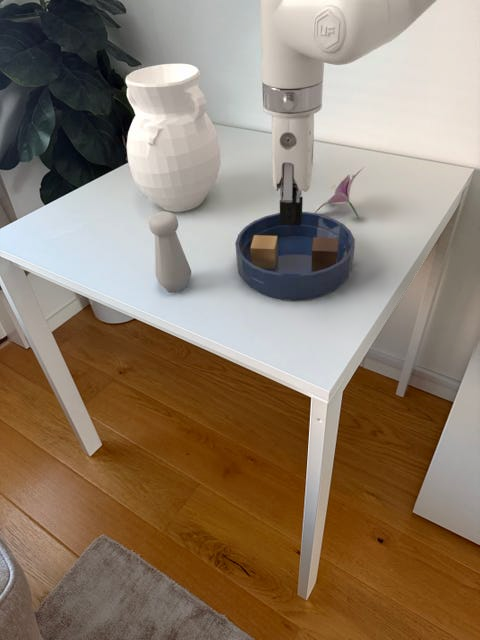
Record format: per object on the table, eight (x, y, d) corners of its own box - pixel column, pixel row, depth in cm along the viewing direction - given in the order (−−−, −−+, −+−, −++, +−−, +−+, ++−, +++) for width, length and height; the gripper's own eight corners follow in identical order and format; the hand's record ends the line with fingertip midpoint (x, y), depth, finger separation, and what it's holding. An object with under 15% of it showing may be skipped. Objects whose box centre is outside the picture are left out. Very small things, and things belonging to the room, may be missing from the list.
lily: (361, 201, 99) (341, 159, 95) (395, 203, 88) (375, 156, 84) (315, 234, 97) (293, 193, 94) (344, 240, 87) (321, 194, 83)
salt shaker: (172, 271, 83) (159, 203, 74) (199, 280, 81) (189, 210, 72) (151, 290, 79) (134, 220, 71) (179, 299, 77) (165, 229, 68)
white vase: (242, 190, 104) (232, 63, 87) (189, 231, 93) (167, 94, 76) (175, 174, 112) (155, 56, 96) (120, 210, 101) (86, 82, 84)
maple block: (277, 255, 83) (277, 235, 81) (275, 269, 80) (274, 249, 78) (255, 254, 84) (254, 234, 81) (251, 268, 81) (250, 248, 78)
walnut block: (336, 258, 81) (338, 237, 79) (335, 272, 79) (337, 251, 76) (312, 257, 82) (313, 237, 80) (311, 270, 79) (311, 250, 77)
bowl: (352, 237, 87) (354, 213, 84) (351, 305, 73) (354, 279, 70) (248, 234, 90) (246, 210, 87) (228, 298, 76) (225, 272, 73)
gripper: (318, 117, 55) (312, 251, 67) (325, 77, 66) (318, 199, 78) (253, 116, 56) (259, 249, 68) (270, 78, 67) (272, 198, 79)
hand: (290, 222), depth 73 cm, fingers closed
